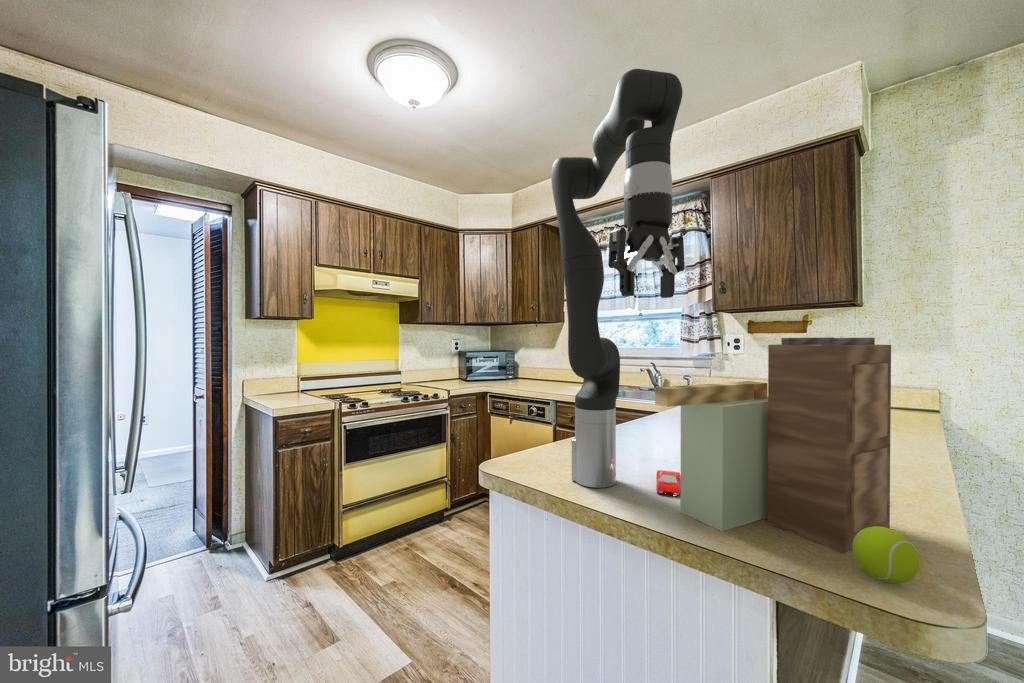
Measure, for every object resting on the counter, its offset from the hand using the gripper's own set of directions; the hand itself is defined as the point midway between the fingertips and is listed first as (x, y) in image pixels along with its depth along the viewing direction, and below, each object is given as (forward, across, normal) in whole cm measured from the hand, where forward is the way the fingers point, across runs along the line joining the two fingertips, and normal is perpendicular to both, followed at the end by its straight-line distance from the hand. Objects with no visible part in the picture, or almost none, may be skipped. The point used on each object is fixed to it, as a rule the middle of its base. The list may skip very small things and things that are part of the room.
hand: (647, 296), depth 70 cm
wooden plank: (+19, -17, -1) cm, 25 cm away
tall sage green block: (+40, -22, -1) cm, 46 cm away
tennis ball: (+40, -21, +23) cm, 51 cm away
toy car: (+41, -22, -16) cm, 49 cm away
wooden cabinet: (+40, -31, +11) cm, 52 cm away
